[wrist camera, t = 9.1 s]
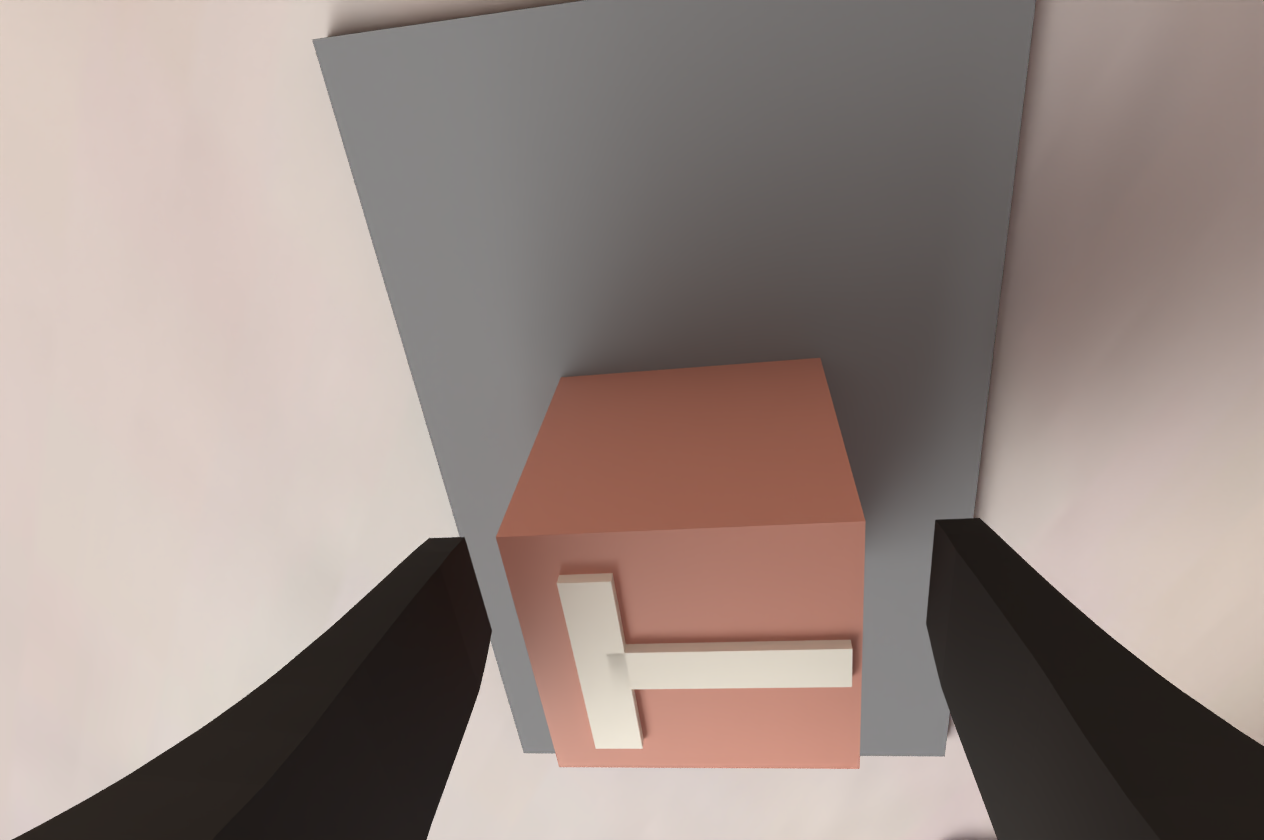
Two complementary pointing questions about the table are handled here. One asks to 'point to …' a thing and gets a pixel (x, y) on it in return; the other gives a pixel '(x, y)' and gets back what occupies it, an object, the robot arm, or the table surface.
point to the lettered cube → (692, 570)
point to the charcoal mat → (702, 250)
